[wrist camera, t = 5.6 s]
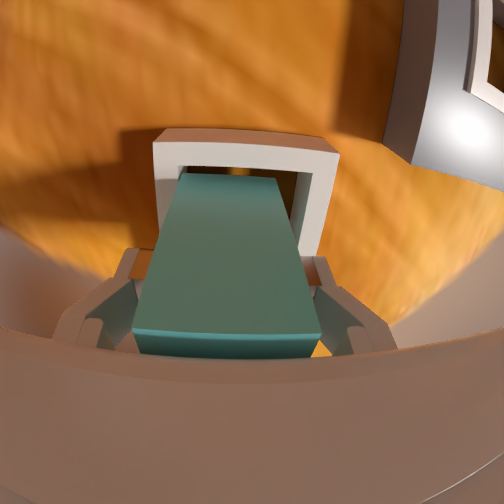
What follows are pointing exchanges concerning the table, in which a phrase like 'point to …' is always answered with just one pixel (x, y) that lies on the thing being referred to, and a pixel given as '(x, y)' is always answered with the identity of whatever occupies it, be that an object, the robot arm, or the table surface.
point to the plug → (226, 276)
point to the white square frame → (253, 156)
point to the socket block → (448, 91)
